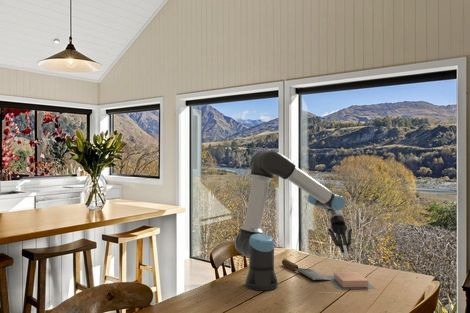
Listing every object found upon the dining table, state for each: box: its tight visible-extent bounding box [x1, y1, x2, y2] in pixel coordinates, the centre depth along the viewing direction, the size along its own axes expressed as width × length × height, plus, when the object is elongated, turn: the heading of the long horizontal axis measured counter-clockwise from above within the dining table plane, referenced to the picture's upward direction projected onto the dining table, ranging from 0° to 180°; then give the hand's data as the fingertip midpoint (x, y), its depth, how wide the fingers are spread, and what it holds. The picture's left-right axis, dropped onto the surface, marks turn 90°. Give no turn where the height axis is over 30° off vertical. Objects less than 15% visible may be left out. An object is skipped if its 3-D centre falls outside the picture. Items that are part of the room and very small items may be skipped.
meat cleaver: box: [281, 258, 332, 281], centre depth 205 cm, size 34×11×4 cm, turn 20°
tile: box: [333, 271, 369, 288], centre depth 187 cm, size 12×3×14 cm
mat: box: [325, 275, 376, 290], centre depth 189 cm, size 18×20×1 cm
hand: (346, 258), depth 193 cm, fingers closed
